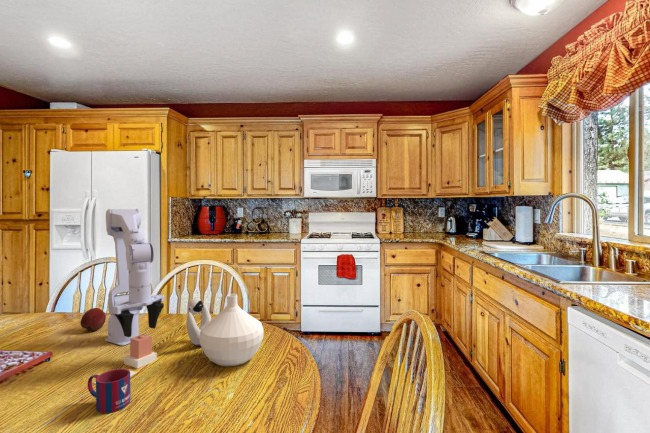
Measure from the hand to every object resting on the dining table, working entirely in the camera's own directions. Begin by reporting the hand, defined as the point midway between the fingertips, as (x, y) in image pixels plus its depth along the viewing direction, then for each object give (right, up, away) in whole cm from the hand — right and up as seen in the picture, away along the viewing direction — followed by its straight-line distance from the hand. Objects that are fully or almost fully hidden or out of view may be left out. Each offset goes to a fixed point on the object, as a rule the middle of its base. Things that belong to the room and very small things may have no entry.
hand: (140, 331), depth 100 cm
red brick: (0, -7, 0) cm, 7 cm away
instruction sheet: (-1, -9, -9) cm, 13 cm away
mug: (+4, -10, -21) cm, 23 cm away
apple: (-30, -8, +25) cm, 40 cm away
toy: (+12, -9, +13) cm, 20 cm away
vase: (+26, -9, +3) cm, 28 cm away
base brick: (0, -9, 0) cm, 9 cm away
